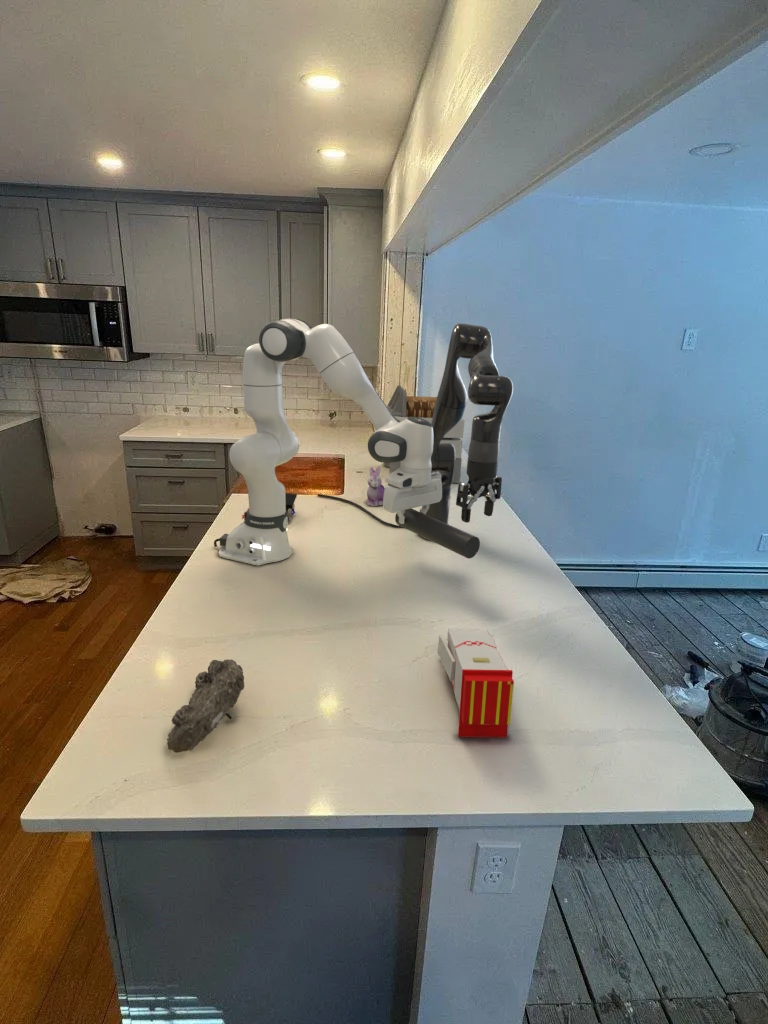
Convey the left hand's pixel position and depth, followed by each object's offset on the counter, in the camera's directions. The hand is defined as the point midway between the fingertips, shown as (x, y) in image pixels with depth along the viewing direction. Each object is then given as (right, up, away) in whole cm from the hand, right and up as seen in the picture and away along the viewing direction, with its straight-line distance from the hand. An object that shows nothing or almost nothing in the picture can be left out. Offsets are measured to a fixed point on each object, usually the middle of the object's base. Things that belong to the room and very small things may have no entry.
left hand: (412, 520), depth 166 cm
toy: (+10, -35, -47) cm, 59 cm away
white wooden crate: (+9, +21, +109) cm, 112 cm away
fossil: (-41, -37, -57) cm, 79 cm away
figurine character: (-44, 0, +45) cm, 63 cm away
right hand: (+16, +1, -19) cm, 25 cm away
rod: (+6, -6, -6) cm, 10 cm away
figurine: (-11, +6, +64) cm, 66 cm away
